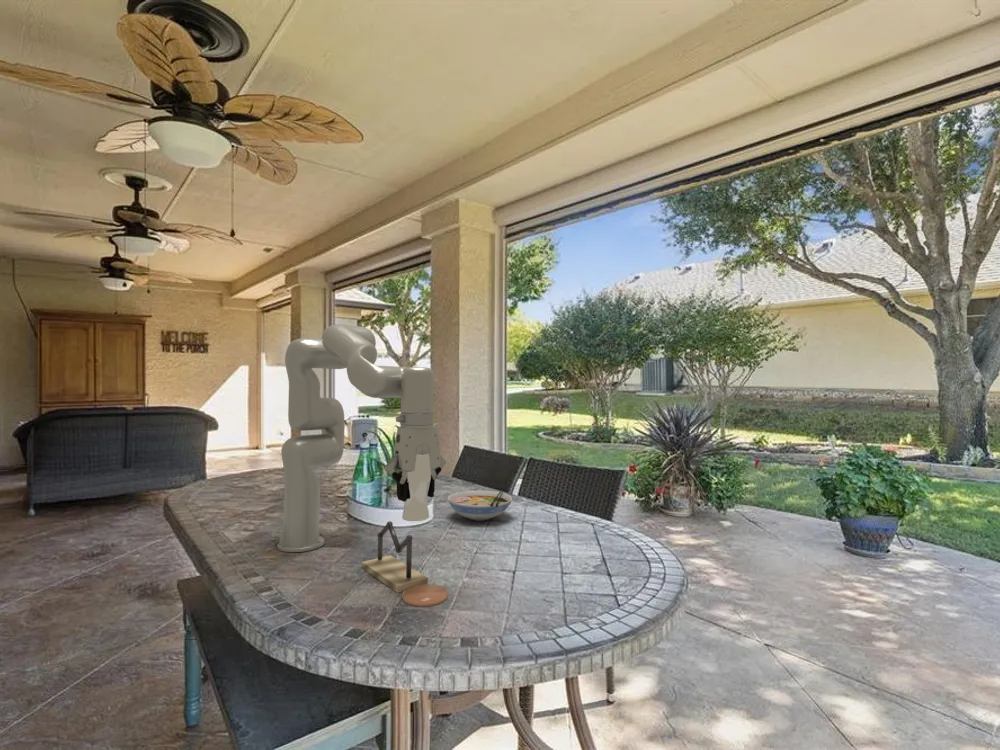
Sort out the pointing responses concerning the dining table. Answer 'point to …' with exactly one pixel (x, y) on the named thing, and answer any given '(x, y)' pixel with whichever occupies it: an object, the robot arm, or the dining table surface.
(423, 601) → the terracotta coaster
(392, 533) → the bent wire
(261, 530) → the dining table surface
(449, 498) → the ramen bowl
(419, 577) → the wire board
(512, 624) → the dining table surface
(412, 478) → the beer glass
